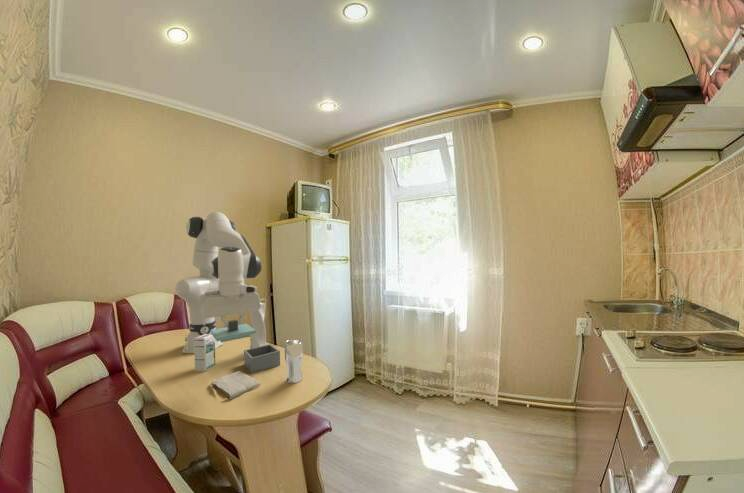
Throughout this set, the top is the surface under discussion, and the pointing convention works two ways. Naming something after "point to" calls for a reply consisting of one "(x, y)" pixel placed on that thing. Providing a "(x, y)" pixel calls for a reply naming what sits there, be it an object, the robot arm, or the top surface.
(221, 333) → the lid
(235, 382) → the washcloth
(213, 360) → the syrup box
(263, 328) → the skyscraper
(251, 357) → the box
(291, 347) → the beer glass
